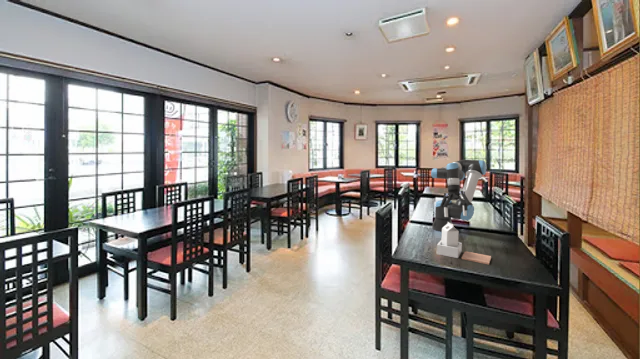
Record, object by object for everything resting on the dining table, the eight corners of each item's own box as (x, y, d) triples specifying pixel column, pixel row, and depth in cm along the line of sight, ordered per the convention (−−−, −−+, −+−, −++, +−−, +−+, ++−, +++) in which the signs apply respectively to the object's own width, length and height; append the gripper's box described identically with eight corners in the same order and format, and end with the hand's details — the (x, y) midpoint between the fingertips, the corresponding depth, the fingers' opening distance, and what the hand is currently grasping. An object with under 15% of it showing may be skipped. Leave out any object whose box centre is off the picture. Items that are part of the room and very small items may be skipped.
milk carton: (451, 250, 180) (453, 221, 178) (457, 255, 173) (459, 224, 171) (440, 251, 180) (442, 221, 178) (446, 255, 173) (447, 225, 171)
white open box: (441, 248, 185) (441, 239, 184) (461, 252, 178) (461, 242, 177) (436, 253, 175) (436, 244, 175) (457, 258, 168) (458, 248, 168)
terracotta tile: (464, 252, 177) (465, 251, 177) (491, 257, 169) (491, 256, 169) (461, 259, 167) (461, 257, 167) (489, 264, 159) (489, 262, 159)
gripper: (434, 187, 203) (435, 216, 198) (467, 181, 182) (470, 214, 177) (440, 188, 207) (442, 217, 202) (474, 183, 186) (477, 215, 181)
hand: (455, 216), depth 190 cm, fingers open, 13 cm apart
